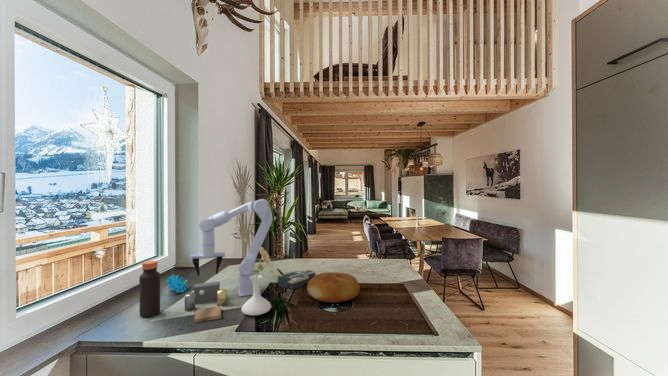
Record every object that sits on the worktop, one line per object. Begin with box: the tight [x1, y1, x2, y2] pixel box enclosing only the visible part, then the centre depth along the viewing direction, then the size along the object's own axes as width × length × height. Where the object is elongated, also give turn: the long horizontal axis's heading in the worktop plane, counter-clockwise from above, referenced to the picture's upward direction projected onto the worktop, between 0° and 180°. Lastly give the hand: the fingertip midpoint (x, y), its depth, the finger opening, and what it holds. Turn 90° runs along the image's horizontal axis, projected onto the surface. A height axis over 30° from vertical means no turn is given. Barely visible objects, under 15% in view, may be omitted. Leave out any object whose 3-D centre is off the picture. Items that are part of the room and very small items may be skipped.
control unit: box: [193, 281, 221, 304], centre depth 123 cm, size 10×5×7 cm, turn 112°
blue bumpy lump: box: [166, 274, 189, 294], centre depth 134 cm, size 11×6×10 cm
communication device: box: [276, 268, 316, 290], centre depth 148 cm, size 12×24×9 cm, turn 148°
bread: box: [306, 271, 361, 304], centre depth 129 cm, size 23×23×10 cm
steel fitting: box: [184, 292, 197, 312], centre depth 114 cm, size 4×4×6 cm
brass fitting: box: [216, 288, 228, 307], centre depth 119 cm, size 4×4×6 cm
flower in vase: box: [240, 246, 272, 316], centre depth 113 cm, size 13×11×25 cm
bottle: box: [138, 260, 161, 318], centre depth 110 cm, size 7×7×20 cm
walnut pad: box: [193, 306, 222, 323], centre depth 109 cm, size 9×9×1 cm
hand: (207, 274), depth 130 cm, fingers open, 7 cm apart
